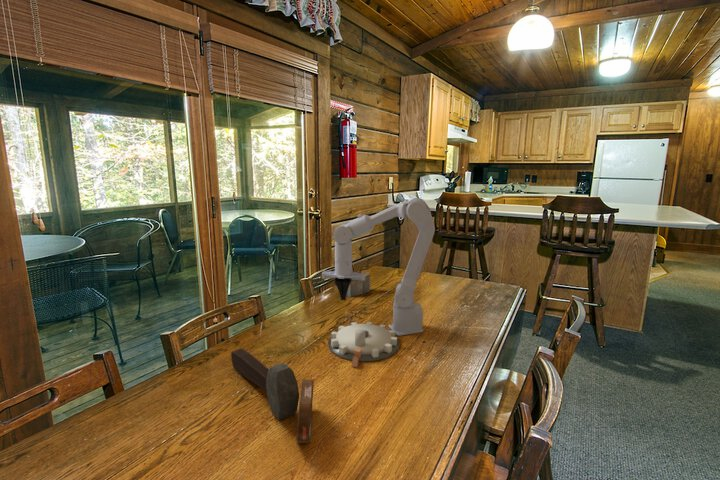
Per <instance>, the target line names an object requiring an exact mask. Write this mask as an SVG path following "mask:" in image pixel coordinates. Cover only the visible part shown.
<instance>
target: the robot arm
mask: <svg viewBox="0 0 720 480" xmlns="http://www.w3.org/2000/svg"><path fill="white" fill-rule="evenodd" d="M406 217H407V218H408V219H409V220H411V221H412V222H413V223H414V224H415V226H416V228H417V230H418V233H417V237H416V240H415V243H414V246H413V247H412V248H413V249H412V251H411V255H410V258H409V260H408V263H407V266H406V267H405V271H404V274H403V276H402V279H401V280H400V282H399V283H398V284H397V285H396V288H395V293H394V295H393V296H394V297H393V305H392V307H393V308H392V309H393V310H392V324H388V326H387V327H388V328H389V330H394V331H395V336H396V337H397V336H400V337H401V336H406V335H412V334H419V333H424V329H423V322H424V321H423V316H424V311H423V307H422V305H421V304H420V303H419V302H415V298H414V297H415V296H414V295H415V292H416V291H415V289H416V286H417V282H418V279H419V277H420V274H421V271H422V269H423V264H424V263H425V260H426V257H427V254H428V252H429V248H430V246H431V243H432V241H433V238H434V234H435V231H436V228H435V223H434V220H433V217H432V213H431V208H430V207H429V206H428V204H427V202H426V201H425V200H424V199H423V198H421V197H415V198H412V199H410V200H405V201H402V202H399V203H396V204H393V205H392V206H390V207H388V208H386V209H383V210H381V211H379V212H378V213H376V214H372V215H371V216H370V215H367V214H363V215H362V214H359V215H357V218H354V219H352V220H350V221H349V220H346V221H345V222H344V223H343V224H340V225H339V226H337V227H336V228H335V229H334V230H333V233H332V238H333V240H334V270H333V271H332V270H331V271H322V272H321V279H335V280H334V284H335V286H336V288H337V290H338V292H339V295H340V301H346V299H347V296H346V295H347V291H348V288H349V285H350V283H351V281H352V279H354V280H362V281H364V280H365V274H364V273H362V272H356V271H353V247H352V239H356V238H358V237H361V236H364V235H365V234H368V233H371V232H373V231H374V228H375V226H376V225H379V224H381V223H384V222H387V221H388V220H392V219H394V218H403V219H406Z"/></svg>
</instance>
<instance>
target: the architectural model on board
mask: <svg viewBox="0 0 720 480" xmlns="http://www.w3.org/2000/svg"><path fill="white" fill-rule="evenodd" d="M361 273H364V274H365V280H364V281H362V280H354V279H352V281H351V283H350V285H349V288H348V291H347V295H346V297H349V298H352V297H355V296H359V295H362V294H365V293H369V292H370V291H371V275H370V273H369V272H368V271H367V270H366V269H364V270H361Z"/></svg>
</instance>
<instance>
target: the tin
mask: <svg viewBox="0 0 720 480" xmlns="http://www.w3.org/2000/svg"><path fill="white" fill-rule="evenodd" d="M314 381H315V380H313V379H304V378H302V379H301V385H300V393H299V402H298V412H297V413H298V414H297V425H296V426H297V427H296V428H297V430H296V443H297V444H304V443H305V444H307V443H310V442H311V434H312V433H311V431H312V419H313V417H312V416H313V402H314V401H313V400H314V399H313V398H314V383H315V382H314Z"/></svg>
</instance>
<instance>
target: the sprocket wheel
mask: <svg viewBox="0 0 720 480" xmlns="http://www.w3.org/2000/svg"><path fill="white" fill-rule="evenodd" d="M372 323H373V322H372V321H366V323H357V322H355V321H354V322H351V323H350V325H347V326H346V325H345V326H344V325H339V326H338V330H337V331H332V332H331V334H330V337H331V346H332V348H334V347H339V353H340V354H345V353H350V354H355V356H358V357H361V355H372V357H373V358H375V357H378V354H379V353H381V352H387V353H390V352H392V345H393V346H396V345H397V338H398V337H397V336H396V334H395V331H394V330H391V329H389V330H388V329H387V328H386V327H387V325H385V324H380V325H377V324H372ZM395 336H396V337H395Z"/></svg>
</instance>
